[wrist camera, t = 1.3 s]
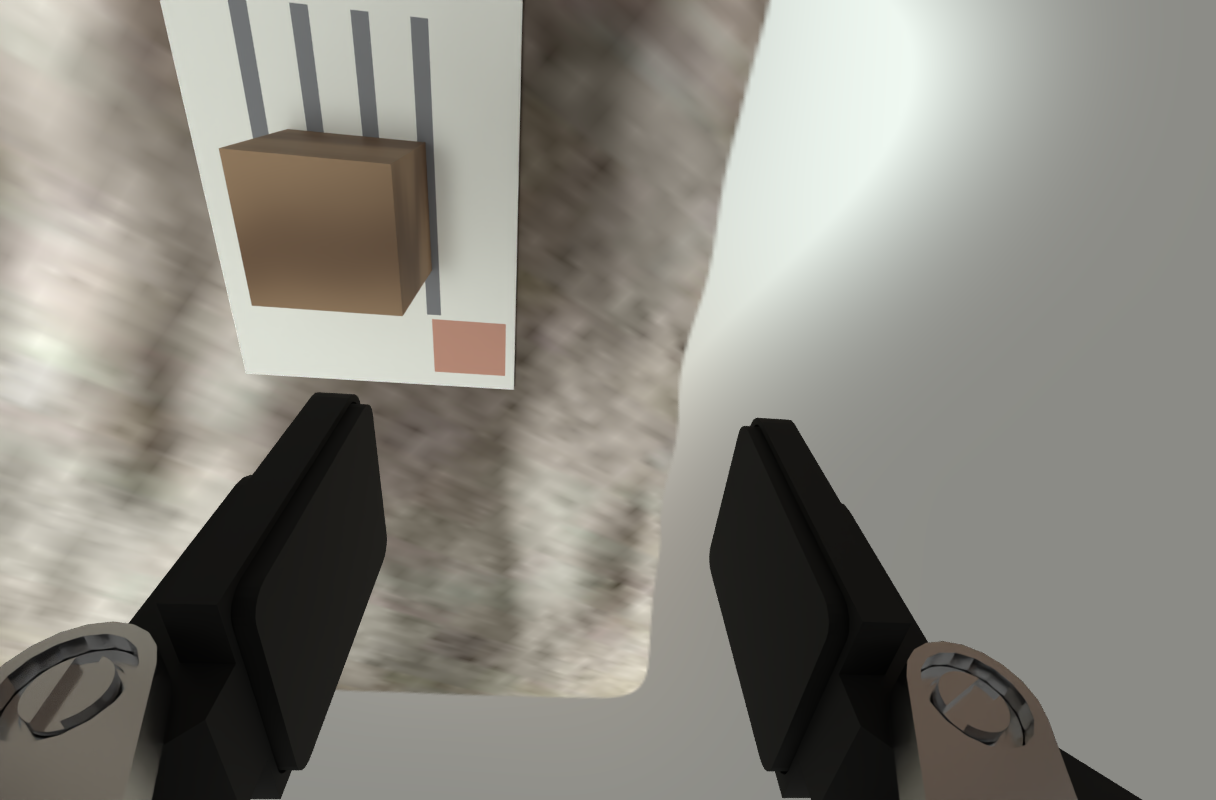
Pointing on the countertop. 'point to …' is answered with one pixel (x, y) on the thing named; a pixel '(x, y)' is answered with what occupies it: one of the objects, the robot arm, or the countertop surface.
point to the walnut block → (330, 220)
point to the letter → (383, 108)
